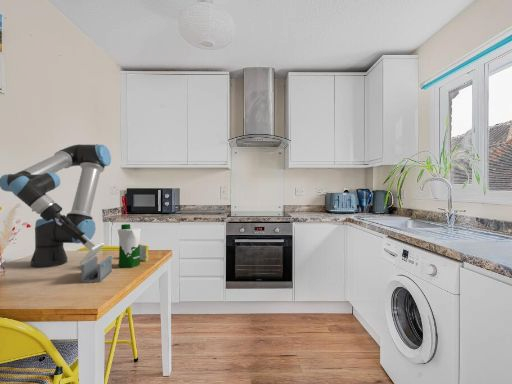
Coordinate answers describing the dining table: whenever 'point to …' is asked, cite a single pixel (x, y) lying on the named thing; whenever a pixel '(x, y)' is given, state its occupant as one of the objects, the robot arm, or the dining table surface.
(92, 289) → the dining table surface
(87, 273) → the stand
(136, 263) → the milk carton
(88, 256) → the cover
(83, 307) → the dining table surface
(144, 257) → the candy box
